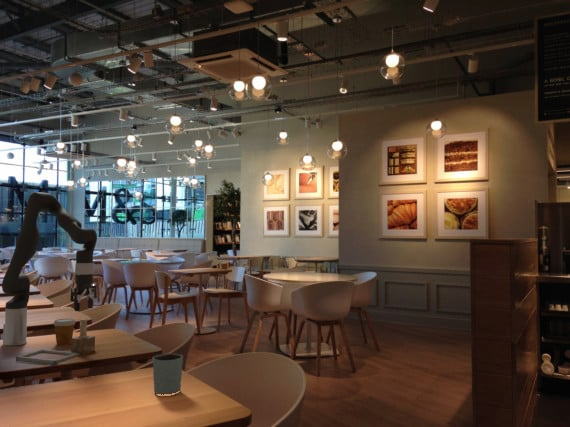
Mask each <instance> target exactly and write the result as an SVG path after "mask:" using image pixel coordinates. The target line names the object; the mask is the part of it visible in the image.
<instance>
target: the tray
mask: <svg viewBox="0 0 570 427" xmlns="http://www.w3.org/2000/svg"><path fill="white" fill-rule="evenodd" d="M42 353H45V354H54V355H64V356H63V357H59V358H55V359H50V358H38V357H31V356H35V355H38V354H42ZM78 356H80V354H79V353H76V352H71V351H64V350H54V349H53V350H52V349H39V350H34V351H31V352H28V353H25V354H21V355H18V356H15V361H16V362H20V363H32V364H42V365H50V366H56V365H58V364H59V363H60V362H64V361H66V360H70V359H72V358H75V357H78Z"/></svg>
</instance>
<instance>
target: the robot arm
mask: <svg viewBox="0 0 570 427" xmlns="http://www.w3.org/2000/svg"><path fill="white" fill-rule="evenodd" d="M39 213H49V214H51V215H53V216H54V217H55V218H56V222H57V224H58V226H59V227H60V228H61V229H63V231H65V232H67V234H68V235H69V237H70V239H71V240H72V241H73V242H74V243H75V244H77V245H83V247H82V248H81V249H78V250H77V251H76V253H75V268H74V269H75V270H74V271H75V272H74V283H75V284H74V285H76V286H75V287H71V288H70V300H69V301H70V302H72V303H74V304H73V305H74V306H73V308H74V312H80V310H81V303H80V302H81V299H82V298H83V297H86V299H87V308H88V309H93V308H94V300H95V299H96V298H97V297H98V296H97V294H98V293H97V292H98V290H97V284H93V283H94V263H93V262H94V251H95V248H96V244H97V241H98V235H97V231H96V230H95V229H94V228H83V226H82V225H83V224H82V223H81V222H80V221H79V220H78V219H76V217H75V216H73V215H72V214H71V213H69V211H67V209H66V208H65V207H64V206H63V205H62V203H60V201H59V199H58V198H57V197H56V196H55V195H54V194H51V193H49V192H41V191H40V192H39V191H38V192H37V191H34V192H32V193H31V194H30V195H29V197H28V200H27V203H26V206H25V212H24V218H23V222H22V225H21V228H20V232H19V234H18V237H17V241H16V243H15V248H14V251H13V254H12V257H11V259H10V262H9V265H8V267H7V270H6V272H5V274H4V277H3V279H2V281H1V282H2V283H1V289H2V291H3V293H4V294H6V295H14V296H13V297H12V298H11V299H9V300H8V301H7V302H5V307H4V308H5V312H4V315H5V318H4V324H3V329H2V345H4V346H8V347H9V346H10V347H11V346H13V347H14V346H21V345H25V344H27V331H28V329H27V328H28V326H27V325H28V303H29V300H30V291H31V280H30V278H29V276H28V275H27V274H26V273H21V272H22V270H23V269H24V267H25V266H26V264H28V262H29V261H30V260H32V258H33V257H34V256H35V254H36V253H37V250H38V248H39V245H40V240H41V236H40V231H39V228H38V224H37V222H38V217H39Z"/></svg>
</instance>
